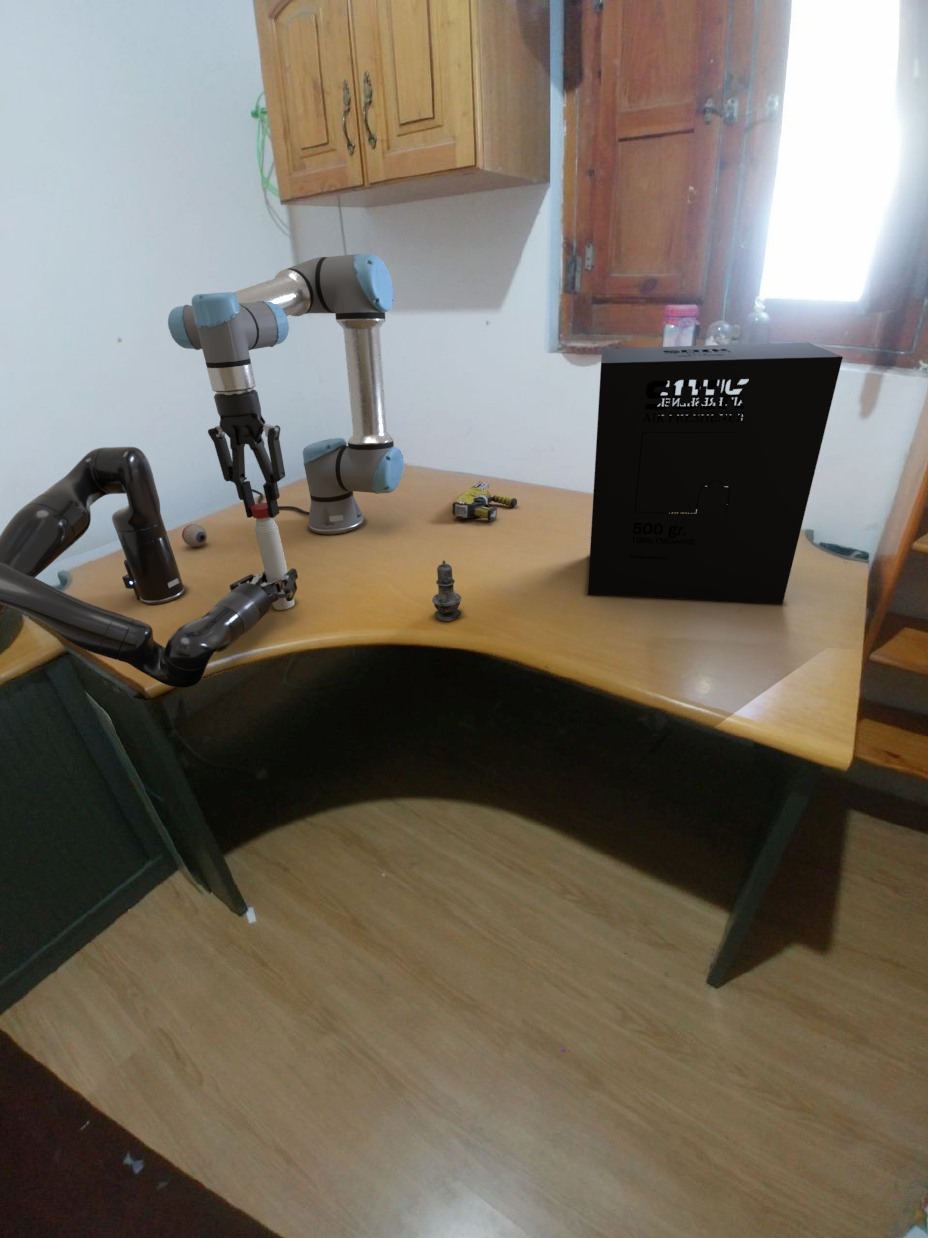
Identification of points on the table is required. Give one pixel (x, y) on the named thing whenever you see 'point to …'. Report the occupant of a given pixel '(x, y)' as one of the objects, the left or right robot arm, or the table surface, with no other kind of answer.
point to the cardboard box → (705, 469)
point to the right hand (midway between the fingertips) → (263, 514)
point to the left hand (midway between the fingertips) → (284, 571)
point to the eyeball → (194, 535)
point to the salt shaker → (446, 595)
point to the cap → (260, 510)
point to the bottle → (272, 555)
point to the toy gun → (479, 503)
